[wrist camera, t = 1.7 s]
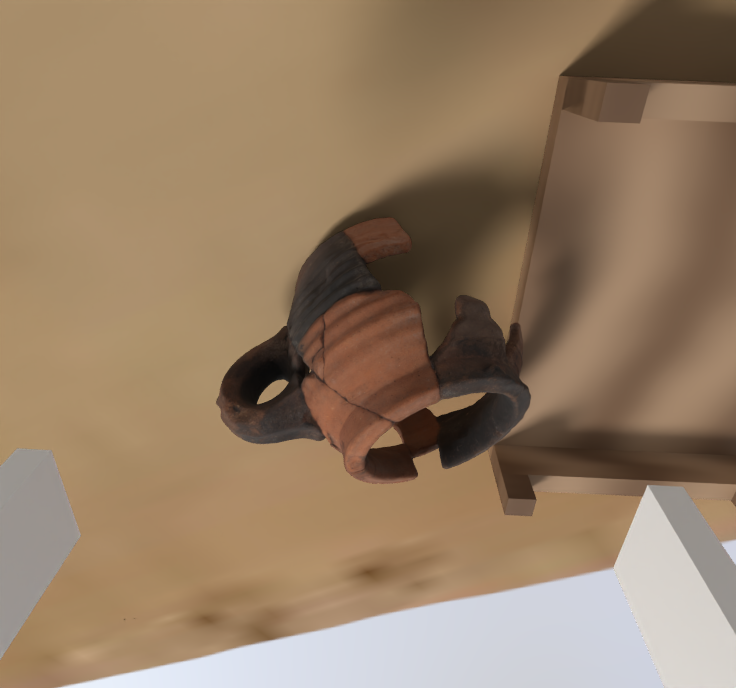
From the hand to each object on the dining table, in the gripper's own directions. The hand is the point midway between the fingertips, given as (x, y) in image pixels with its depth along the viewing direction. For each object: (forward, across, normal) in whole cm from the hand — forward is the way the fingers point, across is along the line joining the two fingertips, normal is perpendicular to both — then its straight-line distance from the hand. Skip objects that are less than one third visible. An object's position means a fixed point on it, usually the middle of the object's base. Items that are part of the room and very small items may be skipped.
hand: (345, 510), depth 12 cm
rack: (+12, +12, 0) cm, 18 cm away
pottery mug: (+13, -1, -1) cm, 13 cm away
